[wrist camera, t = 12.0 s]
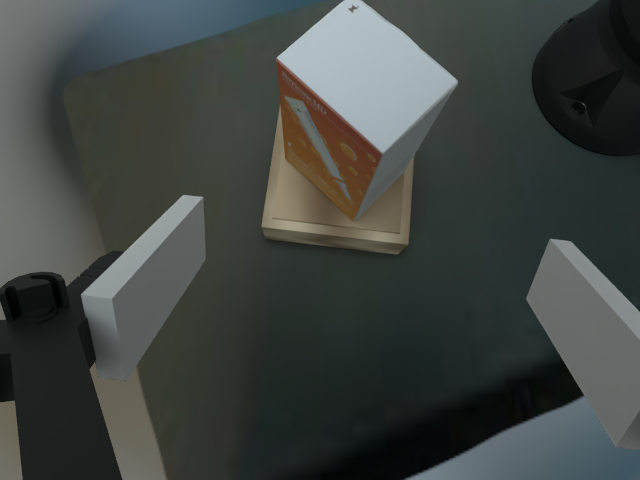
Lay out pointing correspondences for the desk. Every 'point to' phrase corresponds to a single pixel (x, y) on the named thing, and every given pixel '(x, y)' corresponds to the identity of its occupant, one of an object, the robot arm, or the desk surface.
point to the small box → (357, 104)
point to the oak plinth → (332, 211)
